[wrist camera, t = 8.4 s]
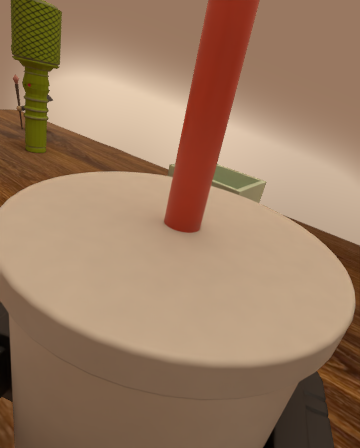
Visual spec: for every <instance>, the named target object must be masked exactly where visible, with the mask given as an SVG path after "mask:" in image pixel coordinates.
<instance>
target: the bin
mask: <svg viewBox="0 0 360 448" xmlns="http://www.w3.org/2000/svg"><path fill="white" fill-rule="evenodd" d="M174 168H175V164H171V165H170V166H169V171H168V176H169V177H173V173H174ZM265 185H266V181H263V180H260V179H257V178H255V177H252V176H249V175H246V174H243V173H240V172H238V171H235V170H232V169H229V168H226V167H224V166H221V165H218V164H217V165H216V169H215V173H214V177H213V181H212V184H211V186H213V187H216V188H219V189H223V190H226V191H229V192H232V193H234V194H237V195H240V196H243V197H245V198H248V199H250V200H253V201H255V202H257V203H259V202H260V199H261V196H262V193H263V190H264V187H265Z"/></svg>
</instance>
